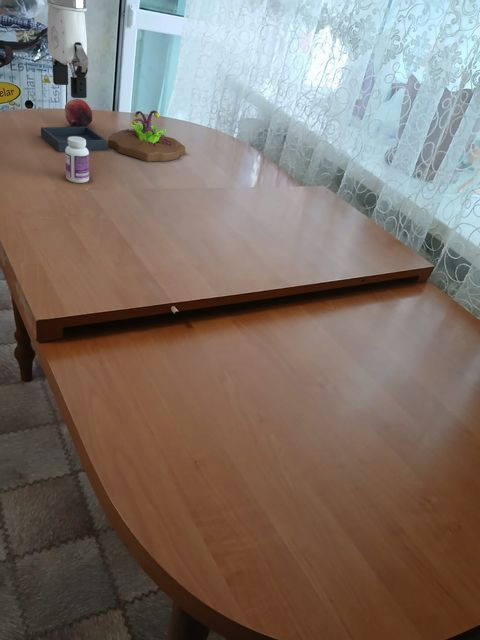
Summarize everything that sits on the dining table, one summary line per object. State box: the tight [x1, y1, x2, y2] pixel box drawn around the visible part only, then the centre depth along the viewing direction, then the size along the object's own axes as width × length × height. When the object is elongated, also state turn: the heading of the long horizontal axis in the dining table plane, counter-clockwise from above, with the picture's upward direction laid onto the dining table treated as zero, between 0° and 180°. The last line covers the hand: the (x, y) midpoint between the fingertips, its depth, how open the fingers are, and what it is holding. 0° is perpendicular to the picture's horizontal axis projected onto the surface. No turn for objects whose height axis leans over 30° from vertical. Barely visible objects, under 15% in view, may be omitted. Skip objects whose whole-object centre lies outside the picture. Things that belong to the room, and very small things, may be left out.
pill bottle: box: [64, 136, 90, 184], centre depth 129 cm, size 5×5×10 cm
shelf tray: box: [40, 126, 108, 153], centre depth 150 cm, size 14×12×3 cm
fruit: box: [64, 98, 93, 127], centre depth 159 cm, size 8×8×8 cm
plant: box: [107, 110, 186, 162], centre depth 155 cm, size 20×20×11 cm
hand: (69, 90), depth 118 cm, fingers open, 9 cm apart
